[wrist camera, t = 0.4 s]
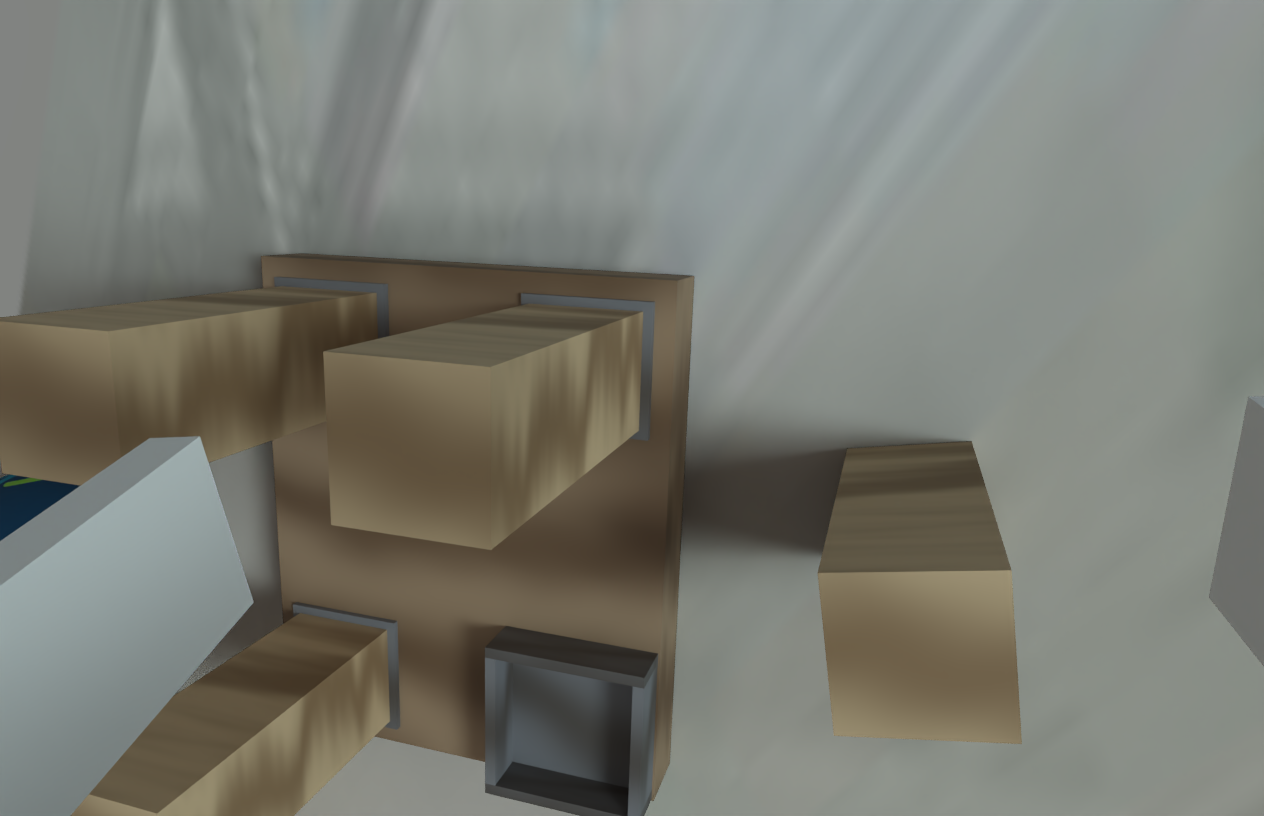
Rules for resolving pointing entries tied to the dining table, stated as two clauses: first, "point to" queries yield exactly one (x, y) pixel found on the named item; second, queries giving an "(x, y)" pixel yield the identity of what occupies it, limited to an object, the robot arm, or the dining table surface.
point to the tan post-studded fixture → (404, 517)
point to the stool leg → (918, 600)
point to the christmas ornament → (27, 500)
